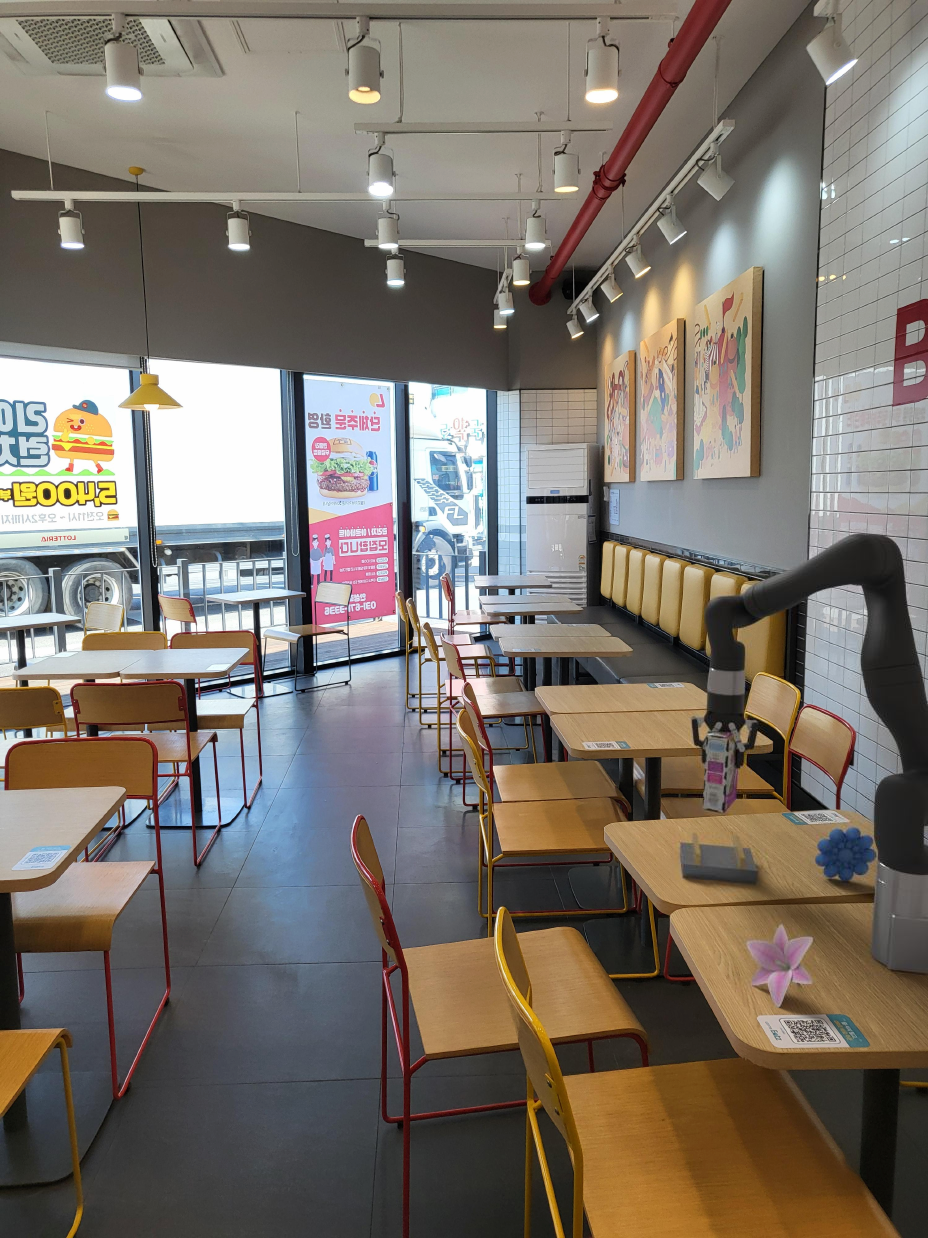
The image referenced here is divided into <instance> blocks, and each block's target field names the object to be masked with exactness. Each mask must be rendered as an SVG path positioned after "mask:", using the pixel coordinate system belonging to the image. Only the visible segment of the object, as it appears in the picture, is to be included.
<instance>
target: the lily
mask: <svg viewBox="0 0 928 1238" xmlns="http://www.w3.org/2000/svg"><path fill="white" fill-rule="evenodd" d="M813 941H814V938H813V936H801V937H796V938H791V939H790V940H789V938H788V936H787V933H786V929H785V927H784V926H783V924H782V923H781V924H779V926H778V927H777V929H776V931H775V934H774V936H773V938H772V942H770V941H765V940H755V939H754V940H748V941H746V947H747V949H748V951H749V953H750V954H751V956H752V958H753V959H754V960H755V962H756V963H757V964H758V965H759V968H758V969H757V970H756V971H755V973H754V975H753V976H752V978H751V980H750V985H751V986H758V985H763V984H767V988H768V990H769V991H768V992H769V994H770V997H771V1000H772V1002H773V1004H774V1005H775V1007H777V1008H780V1007H781V1005H782V1003H783V1001H784V998H785V996H786V995H785V994H787V993H786V992H787V989H788V987H789V985H790V982H792V983H796V984H803V985H804V984H805V985H812V984H813V980H812V978H811V977H810V975H809V973H808V971H806V969H805V968H804V966H803V965H802V964H801V961H802V959H803V958H804V956H805V954H806V953H807V952H808V950H809V948H810V947H811V945H812V943H813Z"/></svg>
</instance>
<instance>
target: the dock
mask: <svg viewBox="0 0 928 1238" xmlns="http://www.w3.org/2000/svg"><path fill="white" fill-rule="evenodd" d="M698 838H699V837H698V833H697V832H692V833H691V843H690V842H680V843H679V859H680V860H679V861H680V867H681V875H682V878H685V879H693V880H694V879H696V880H704V881H705V880H706V881H717V882H727V883H738V884H747V885H757V883H758V882H757V881H758V868H757V865H756V863H755V859H754V856H753V854H752V851H751V848H750V847H749V848H748V847H743V845H742V843H741V839H740V836H733V846H725V845H716V844H715V845H714V844H705V843H700V842H699V839H698Z"/></svg>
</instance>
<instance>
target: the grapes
mask: <svg viewBox="0 0 928 1238" xmlns="http://www.w3.org/2000/svg"><path fill="white" fill-rule="evenodd" d="M828 838H829V839H828ZM828 838H822V839H820V840H819V841H818V842H817V845H816V846H817V847H816V848H817V850H818V851H819V853H817V855H816V856H815V858H814V862H815V864H816V865H817V866H819V867H823V870H822V872H823V875H824V876H825V877H826V878H828V879H832V878H835V877H838V879H839V880H840V881H843V882H849V881H852V879H853V877H854V876H856V875H857V876H863V875H866V874H868V871H869V869H870V868H869V867H870V865H869V863H873V862H874V861H875V860H876V858H878V854H877V852H876V850H875V849H874V848H872V846H873V844H874V838H873V837H872V836H871V835H869V834H862V832H861V830H860V829H859V828H858V827H855V826H850V827H848V828H846V830H845V832H844V830H843V829H841V828H835V829H832V830H831V831H830V832H829V834H828Z"/></svg>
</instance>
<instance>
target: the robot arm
mask: <svg viewBox="0 0 928 1238" xmlns="http://www.w3.org/2000/svg"><path fill="white" fill-rule="evenodd" d="M904 567H905V565H904V559H903V555H902V551H901V549H900V547H899V546H898V544H897V543H896V542H895V541H894V540H893V539H892V538H891V537H888V536H885V535H883V534H881V535H880V534H870V533H869V534H868V533H855V534H853V533H852V534H849V535H847V536H845V537H843V538H841V539H840V540H838V541H836V542H835V543H833V544H831V545H830V546H829V547H827V548H826V549H824V550H823V551H820V552H819V553H818V554H816V555H813V556H812V557H811V558H810V559H807V560H806V561H803V562H802V563H800V564H798V565H797V566H795V567H792V568H790V569H788V570H786V571H785V570H784V571H783V572H781V573H778V574H776V575H773V576H770V577H768V578H765V579H763V580H762V581H761V580H760V581H759V582H755V584H752V585H750V586H748V588H747V589H746V590H745V592H743V593H740V594H736V595H721V596H716V597H713V598H711V599H710V600H709V602H708V603H707V604H706V606H705V609H704V616H703V617H704V625H705V629H706V633H707V634H706V635H707V640H708V643H709V647H710V653H709V654H710V656H709V672H708V676H707V684H706V686H707V690H706V691H707V694H706V712H705V715H703V716H700V717H699V716H698V717H696V716H695V715H694V716H691V718H690V721H691V731H692V738H693V739H692V740H693V745H694V746H695V747H699V748H701V757H700V758H701V759H700V760H701V763H702V764H704V766H705V756H706V739H707V734H709V733H710V732H730V733H732V734H734V739H735V742H736V744H737V746H738V749H737V751H736V768H737V769H738V770H740V769H741V767H744V764H745V753H746V752H747V751H750V750H751V751H753V750H754V749H755V745H756V741H757V736H758V731H759V727H760V725H759V722H758V721H757V720H756V719H753V720H751V719H746V718H745V716H744V713H745V712H744V710H745V695H746V694H745V689H746V674H745V673H746V671H745V667H746V665H745V664H746V646H745V645H744V643H743V642H741V641H739V640H736V639H735V635H734V630H736V629H737V630H738V629H744V628H747V627H749V626H753V625H755V624H756V623H758V622H760V621H762V620H763V619H765V618H766V617H771V616H773V615H776V614H778V613H781V612H783V611H787V610H789V609H791V608H794V607H795V606H797V605H798V604H801V603H802V602H803V601H804V600H806V599H807V598H809V597H810V596H812V595H813V594H816V593H818V592H821V591H824V590H827V589H828V590H829V589H833V588H836V587H844V586H847V585H848V586H849V585H851V586H852V585H853V586H857V587H859V586H860V587H861V588H862V593H863V596H864V601H865V605H866V612H867V613H866V614H867V621H866V628H865V633H864V637H863V641H862V642H863V643H862V646H861V651H860V669H861V674H862V676H861V677H862V680H863V684H864V686H863V687H864V689H865V694H866V697H867V700H868V702H869V704H870V706H871V707H872V710H873V711H874V712H875V714H876V715H877V716H878V718H879V719H880V721H881V722H882V723H883V725H884V726H885V727H886V729H887V730H888V731H889V732H890V734H891V736H892V737H893V740H894V741H895V744H896V746H897V750H898V752H899V758H900V762H901V767H902V768H901V769H902V772H900V773H899V772H898V773H893V774H889V775H887V776H885V777H884V778H883V779H881V781H880V782H879V784H878V785H877V788H876V790H875V796H874V809H873V810H874V811H873V814H874V815H873V816H874V817H873V841H874V843H875V846H876V850H877V861H876V872H875V873H876V874H875V887H874V888H875V889H874V899H873V912H872V925H871V926H872V927H871V941H870V954H871V956H872V957H873V958H874V959H875V960H876V961H878V962H879V963H881V964H883V965H884V966H885V967H886V968H887V969H888V970H892V971H900V972H910V973H918V974H919V973H920V974H928V844H925V828H926V827H928V699H927V695H926V694H927V693H926V687H925V682H924V677H923V672H922V666H921V664H920V658H919V656H918V651H917V647H916V642H915V636H914V631H913V627H912V622H911V617H910V612H909V606H908V599H907V597H908V596H907V588H906V587H907V585H906V575H905V568H904ZM703 723H704V724H705V725H706V726H707V727H708V730H707V733H706V734H705V737H704V739H703V740H702V739H700V732H699V731H700V730H699V728H701V727H702V725H703ZM745 725H746V729H747V730H748V735H747V741H746V742H743V741H742V739H741V735H740V736H739V734H738V732H739V731H740V730H742V729H743V727H744V726H745Z"/></svg>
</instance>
